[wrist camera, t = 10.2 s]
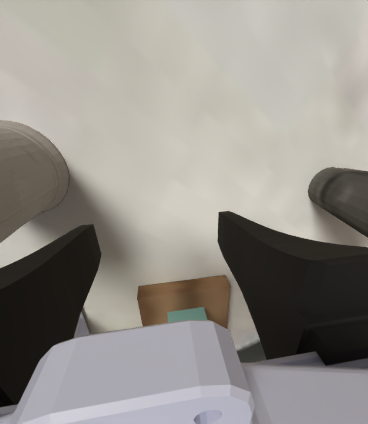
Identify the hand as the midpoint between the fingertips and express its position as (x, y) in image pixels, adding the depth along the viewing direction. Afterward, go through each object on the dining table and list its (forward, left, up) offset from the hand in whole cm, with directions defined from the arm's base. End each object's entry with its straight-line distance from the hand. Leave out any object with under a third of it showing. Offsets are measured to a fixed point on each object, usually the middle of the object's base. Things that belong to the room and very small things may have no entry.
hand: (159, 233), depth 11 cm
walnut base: (+2, -20, -10) cm, 23 cm away
